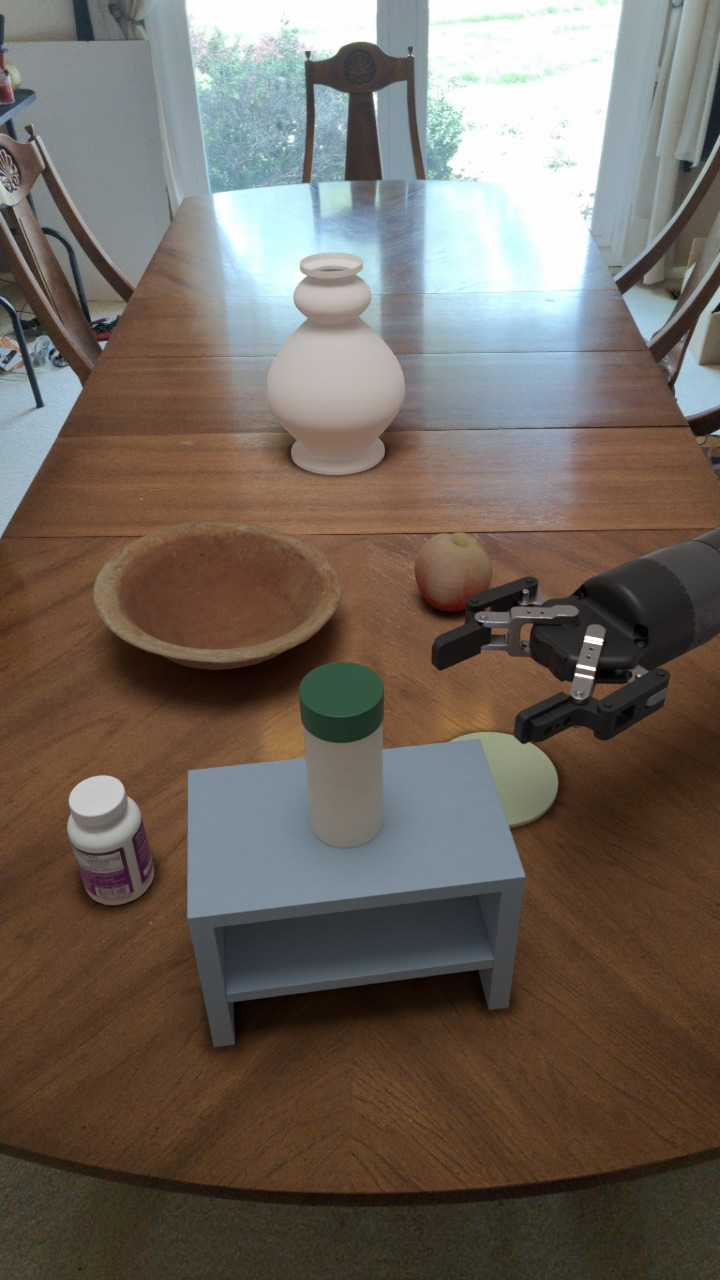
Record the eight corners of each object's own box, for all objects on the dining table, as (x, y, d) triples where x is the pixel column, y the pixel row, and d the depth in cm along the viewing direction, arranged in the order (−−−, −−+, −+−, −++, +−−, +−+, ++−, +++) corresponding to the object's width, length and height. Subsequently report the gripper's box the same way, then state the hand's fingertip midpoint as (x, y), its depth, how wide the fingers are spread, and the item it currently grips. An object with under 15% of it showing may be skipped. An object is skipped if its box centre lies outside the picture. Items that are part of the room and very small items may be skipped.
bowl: (286, 744, 88) (280, 676, 83) (60, 688, 94) (42, 621, 89) (375, 599, 105) (374, 535, 100) (178, 560, 112) (169, 498, 107)
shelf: (508, 1008, 67) (526, 876, 58) (214, 1048, 65) (186, 918, 56) (469, 869, 76) (479, 738, 68) (211, 900, 74) (187, 770, 66)
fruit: (501, 616, 102) (507, 551, 97) (429, 631, 100) (431, 565, 95) (473, 575, 108) (477, 512, 103) (404, 588, 106) (405, 525, 102)
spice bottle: (390, 845, 60) (390, 712, 54) (312, 854, 60) (302, 721, 53) (378, 788, 64) (377, 657, 57) (305, 796, 64) (295, 665, 57)
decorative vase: (380, 494, 123) (379, 292, 107) (250, 474, 127) (231, 278, 112) (420, 433, 136) (423, 246, 121) (300, 417, 141) (289, 235, 125)
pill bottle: (121, 842, 79) (99, 756, 73) (169, 872, 77) (150, 786, 71) (70, 887, 76) (42, 801, 70) (118, 920, 73) (94, 834, 67)
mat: (574, 821, 80) (575, 817, 80) (441, 836, 79) (442, 832, 79) (537, 729, 89) (537, 725, 88) (417, 742, 87) (417, 738, 87)
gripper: (725, 703, 67) (542, 802, 60) (580, 601, 76) (408, 677, 69) (750, 614, 62) (555, 710, 55) (592, 518, 72) (410, 590, 65)
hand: (474, 691), depth 62 cm, fingers open, 8 cm apart
